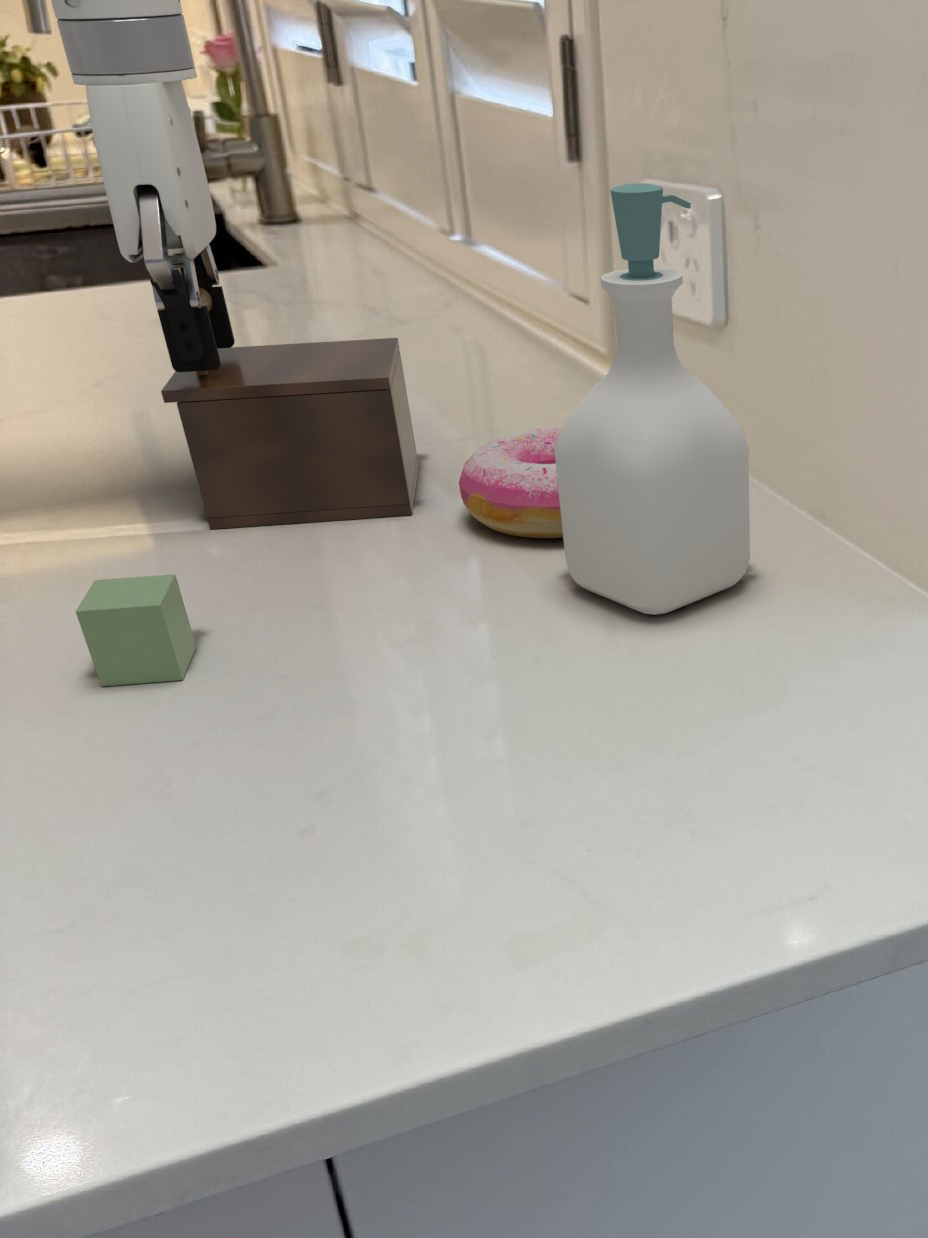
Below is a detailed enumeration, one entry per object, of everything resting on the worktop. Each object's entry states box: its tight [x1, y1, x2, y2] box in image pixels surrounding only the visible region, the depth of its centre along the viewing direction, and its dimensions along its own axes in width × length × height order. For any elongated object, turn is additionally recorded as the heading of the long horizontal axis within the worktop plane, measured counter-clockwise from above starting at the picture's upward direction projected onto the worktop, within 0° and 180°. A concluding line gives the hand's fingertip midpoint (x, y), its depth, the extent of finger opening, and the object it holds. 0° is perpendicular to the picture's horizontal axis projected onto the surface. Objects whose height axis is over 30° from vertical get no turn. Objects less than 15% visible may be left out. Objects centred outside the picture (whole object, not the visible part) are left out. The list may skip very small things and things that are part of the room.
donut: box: [458, 426, 563, 539], centre depth 95 cm, size 14×13×5 cm
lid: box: [160, 287, 400, 404], centre depth 94 cm, size 15×12×6 cm
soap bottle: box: [555, 182, 751, 616], centre depth 79 cm, size 10×10×23 cm
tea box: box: [176, 349, 420, 530], centre depth 99 cm, size 15×12×9 cm
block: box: [75, 573, 197, 687], centre depth 77 cm, size 5×5×5 cm
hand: (205, 356), depth 94 cm, fingers open, 5 cm apart
